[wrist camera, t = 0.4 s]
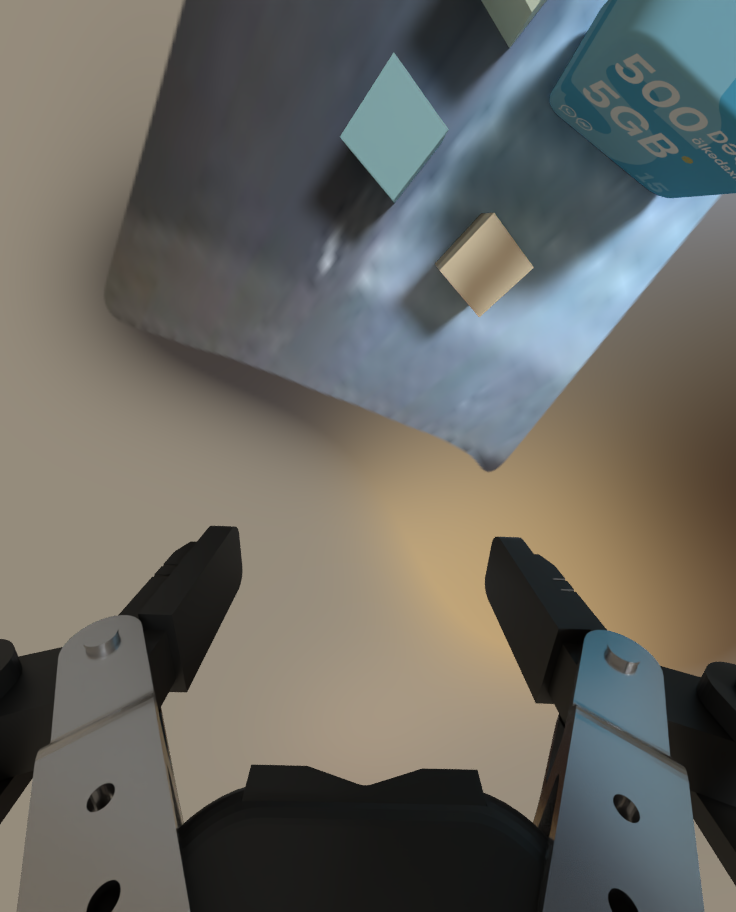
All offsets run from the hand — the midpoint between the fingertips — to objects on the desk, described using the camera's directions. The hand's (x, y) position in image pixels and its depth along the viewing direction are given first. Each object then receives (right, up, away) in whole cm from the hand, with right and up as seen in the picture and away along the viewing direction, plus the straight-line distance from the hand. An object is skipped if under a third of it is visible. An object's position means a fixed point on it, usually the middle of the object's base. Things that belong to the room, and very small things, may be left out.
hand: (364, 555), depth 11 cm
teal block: (+2, +27, +16) cm, 31 cm away
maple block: (+10, +20, +20) cm, 30 cm away
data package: (+19, +28, +14) cm, 36 cm away
